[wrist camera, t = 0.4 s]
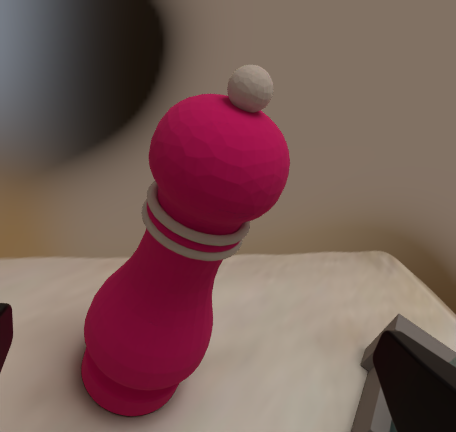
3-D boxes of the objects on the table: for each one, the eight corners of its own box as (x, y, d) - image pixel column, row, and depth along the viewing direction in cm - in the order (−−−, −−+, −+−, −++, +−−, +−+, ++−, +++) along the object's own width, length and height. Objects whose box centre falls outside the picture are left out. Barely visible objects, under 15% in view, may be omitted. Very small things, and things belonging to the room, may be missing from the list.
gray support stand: (508, 585, 23) (579, 560, 20) (335, 442, 26) (376, 404, 23) (493, 442, 31) (541, 411, 29) (365, 348, 35) (398, 313, 32)
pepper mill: (93, 447, 20) (237, 95, 10) (58, 337, 24) (134, 8, 14) (204, 399, 25) (381, 124, 14) (158, 313, 29) (271, 51, 19)
